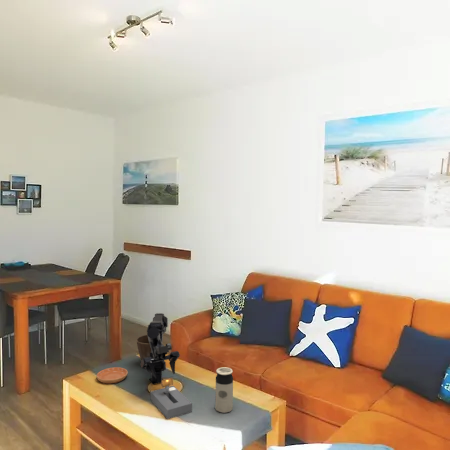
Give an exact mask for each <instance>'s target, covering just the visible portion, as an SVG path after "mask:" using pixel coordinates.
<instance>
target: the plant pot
mask: <svg viewBox="0 0 450 450" xmlns="http://www.w3.org/2000/svg"><path fill="white" fill-rule="evenodd" d="M163 341H164V339H163V340H162V343H163ZM136 347H137V350H138V355H139V358H140V361H141V362H142V360H143V358H146V357H150V353H151V351H152V350H151V347H150V343H149V340H148V335H147V334H144V335H141V336H138V337H137V338H136Z"/></svg>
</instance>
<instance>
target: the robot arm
mask: <svg viewBox="0 0 450 450" xmlns="http://www.w3.org/2000/svg"><path fill="white" fill-rule="evenodd" d="M168 327H169V320H168V317H167V316H165V314H164V313H160V312H157V313H155V314H154V317H153V318H152V321H150V322H149V324H148V325H147V329H146V335H148V340H149V343H150V347H151V350H152V351H151V353H150V357H146V358H143V360H142V361H141V362H140V366H141V369H144V370H147V371H148V372H149V373H150V378H148V381H149V382H150V384H152V385H156V383H157V384H161V381H162V380H164V379H163V372H165V371H166V370H167V364H166V361H167V360H168V361H169V363H168V364H169V366H170V369H171V371H172V374H173V375H175V374H176V361H177V360H178V359H179V358H180V356H181V354H180V352H179V351H178V350H175V351H172V349H173V347H172V344H171V342H170V343H169V342H168V343H166V344H165V345H164V344H163V342H162V340H163V341H164V334H165V333H166V332H167V328H168ZM170 351H171V352H170ZM168 353H169V354H168ZM167 354H168V355H167Z"/></svg>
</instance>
